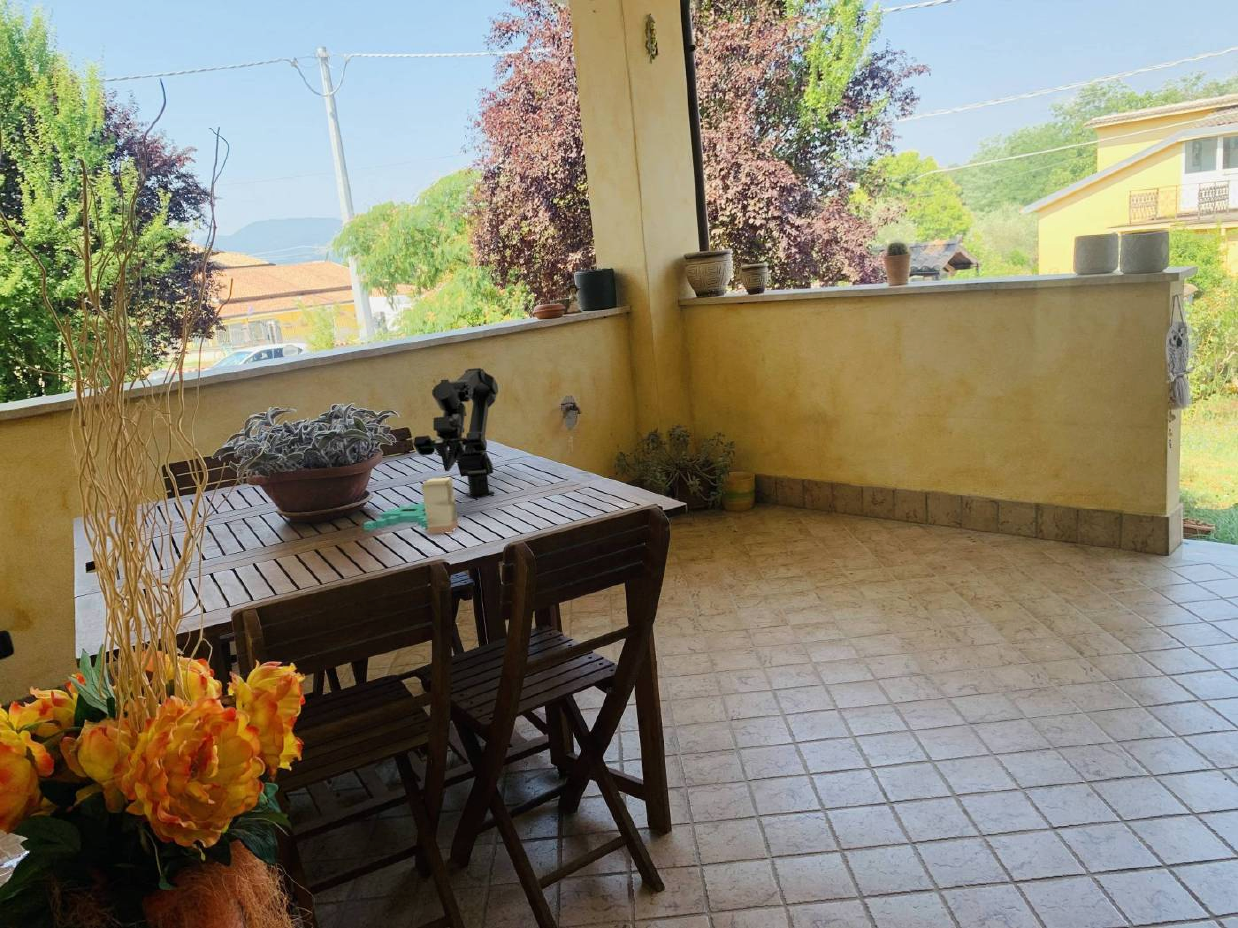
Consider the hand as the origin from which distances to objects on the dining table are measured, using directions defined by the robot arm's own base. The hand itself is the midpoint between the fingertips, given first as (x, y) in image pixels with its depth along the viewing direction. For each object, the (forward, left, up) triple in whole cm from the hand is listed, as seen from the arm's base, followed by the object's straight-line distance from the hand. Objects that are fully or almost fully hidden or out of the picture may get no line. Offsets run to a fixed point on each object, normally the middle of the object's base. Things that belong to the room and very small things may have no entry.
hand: (446, 470), depth 239 cm
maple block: (+6, -6, -14) cm, 16 cm away
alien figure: (-11, -6, -14) cm, 19 cm away
